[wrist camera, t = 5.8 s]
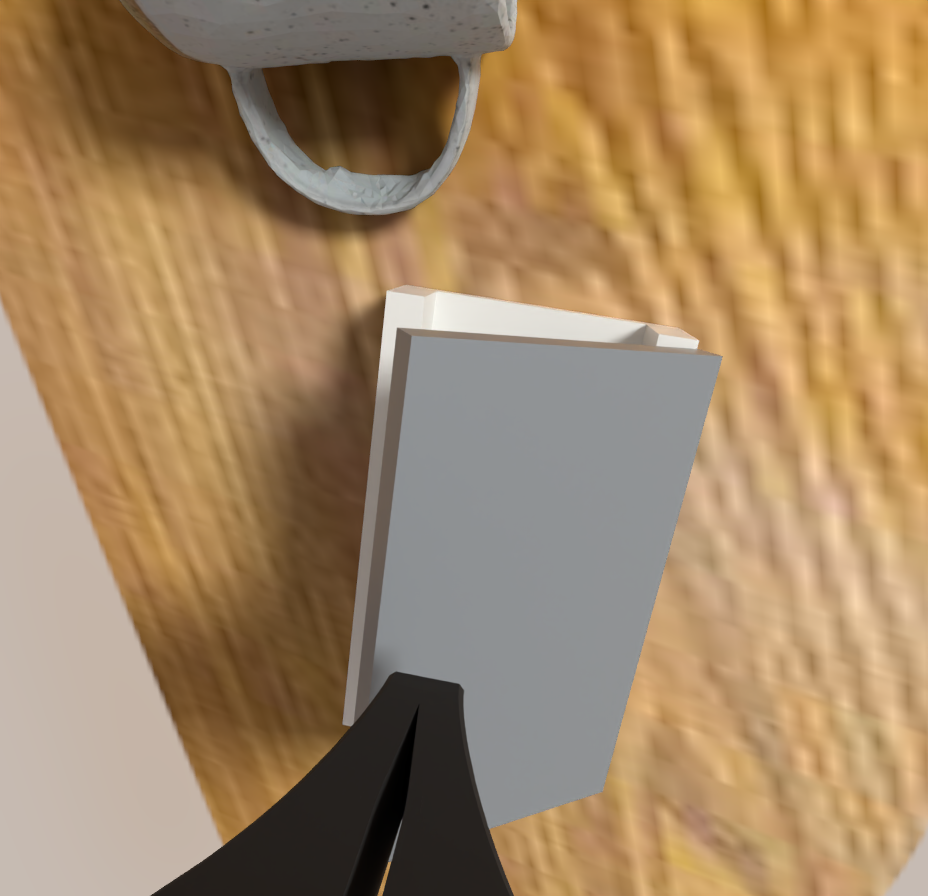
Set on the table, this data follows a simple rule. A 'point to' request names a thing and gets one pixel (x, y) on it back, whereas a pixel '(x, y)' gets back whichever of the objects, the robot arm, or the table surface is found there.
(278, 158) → the ceramic mug
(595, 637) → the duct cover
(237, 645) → the table surface
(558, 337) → the cable duct
